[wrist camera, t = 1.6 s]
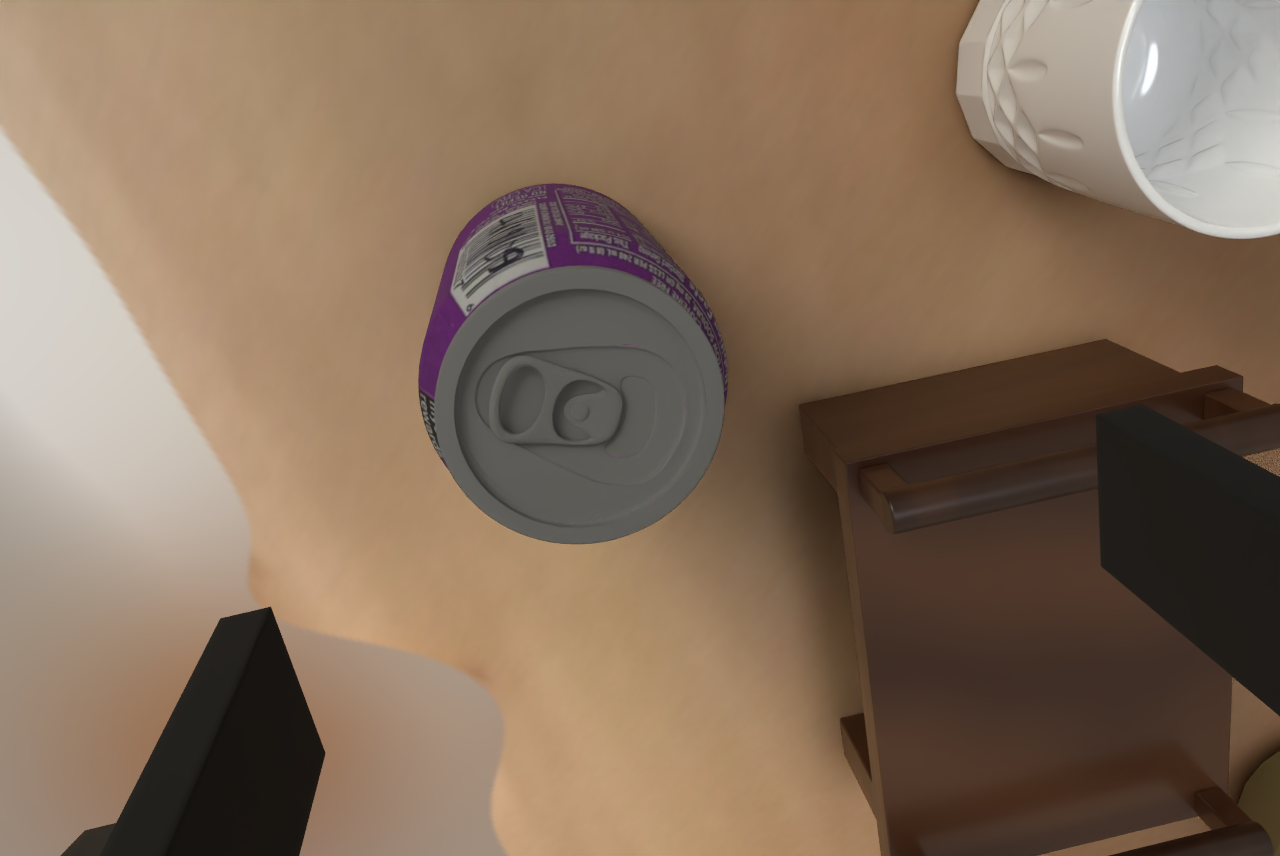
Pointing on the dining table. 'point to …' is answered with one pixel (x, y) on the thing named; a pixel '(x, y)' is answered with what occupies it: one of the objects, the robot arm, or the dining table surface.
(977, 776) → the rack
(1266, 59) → the white cup
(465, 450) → the beverage can
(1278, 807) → the squeeze bottle
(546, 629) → the dining table surface
